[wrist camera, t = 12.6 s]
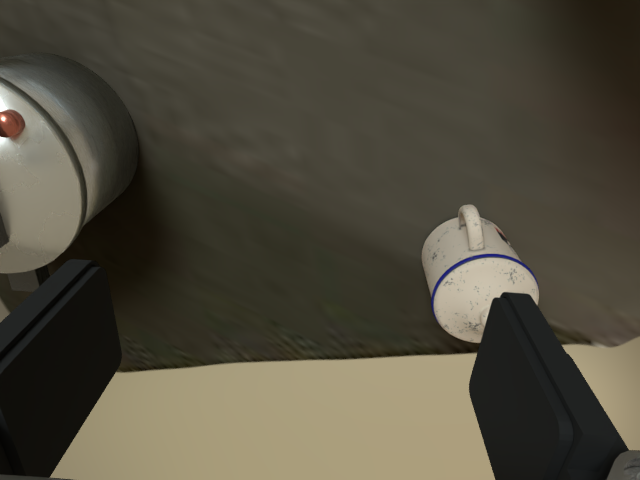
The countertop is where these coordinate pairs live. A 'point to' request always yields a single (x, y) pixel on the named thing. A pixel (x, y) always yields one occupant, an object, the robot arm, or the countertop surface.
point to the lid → (36, 184)
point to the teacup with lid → (471, 272)
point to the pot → (79, 130)
